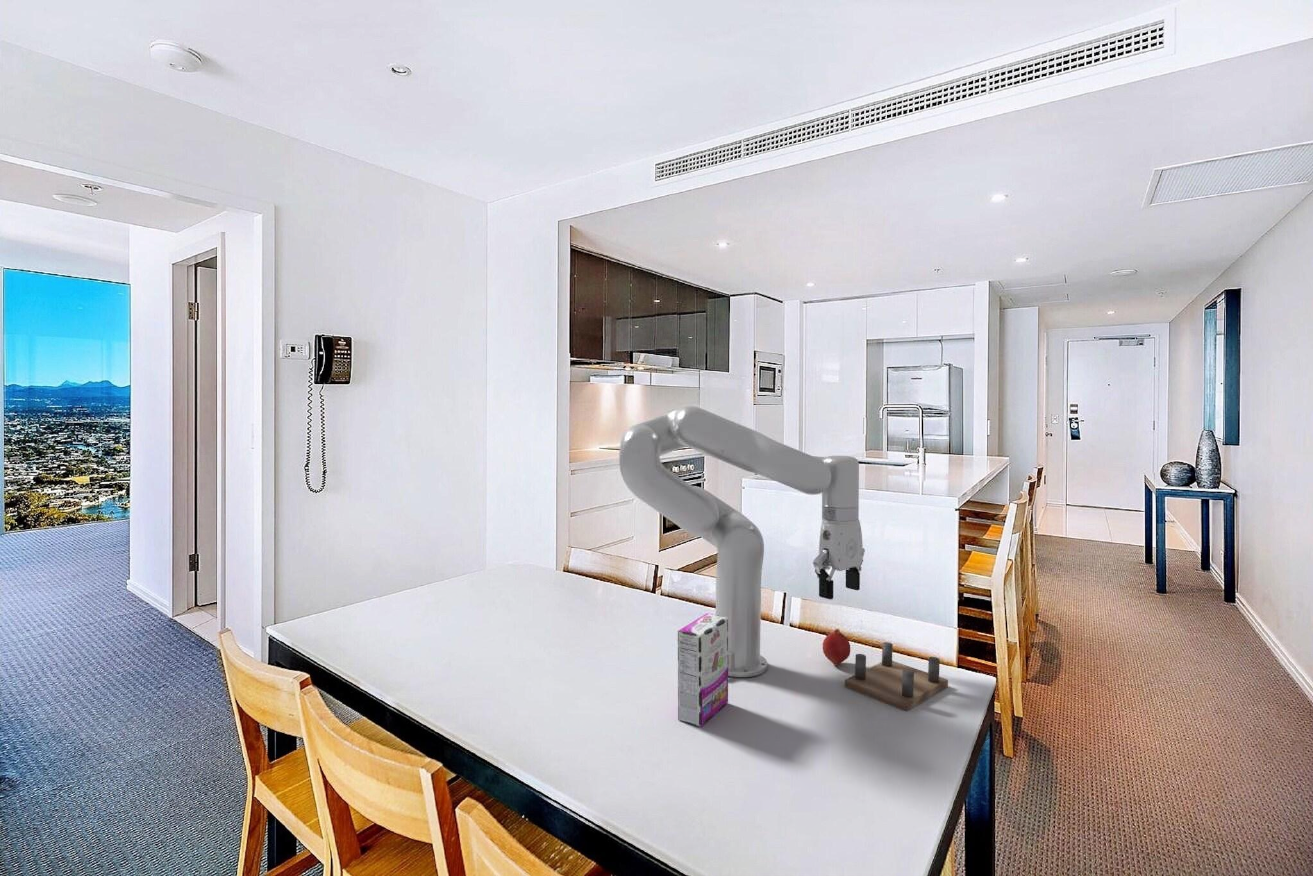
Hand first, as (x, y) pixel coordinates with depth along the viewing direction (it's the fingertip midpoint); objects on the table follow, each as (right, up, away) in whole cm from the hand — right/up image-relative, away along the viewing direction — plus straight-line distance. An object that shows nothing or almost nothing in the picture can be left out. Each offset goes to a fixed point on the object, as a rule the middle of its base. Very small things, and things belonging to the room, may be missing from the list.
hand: (839, 593), depth 137 cm
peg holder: (+8, -16, -10) cm, 21 cm away
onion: (-1, -16, +1) cm, 16 cm away
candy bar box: (-31, -17, -21) cm, 41 cm away
